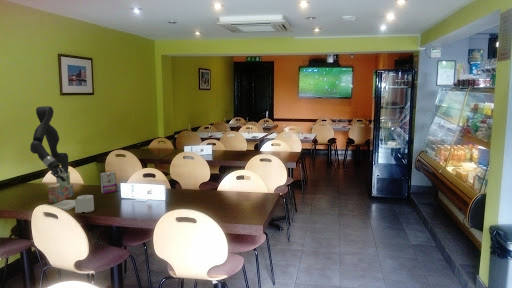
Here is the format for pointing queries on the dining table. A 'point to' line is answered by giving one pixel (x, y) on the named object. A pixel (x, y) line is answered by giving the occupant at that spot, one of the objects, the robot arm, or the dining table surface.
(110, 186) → the candy bar box
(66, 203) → the cutting board
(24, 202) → the dining table surface
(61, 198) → the colorful patterned box
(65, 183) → the sage block
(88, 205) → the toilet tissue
